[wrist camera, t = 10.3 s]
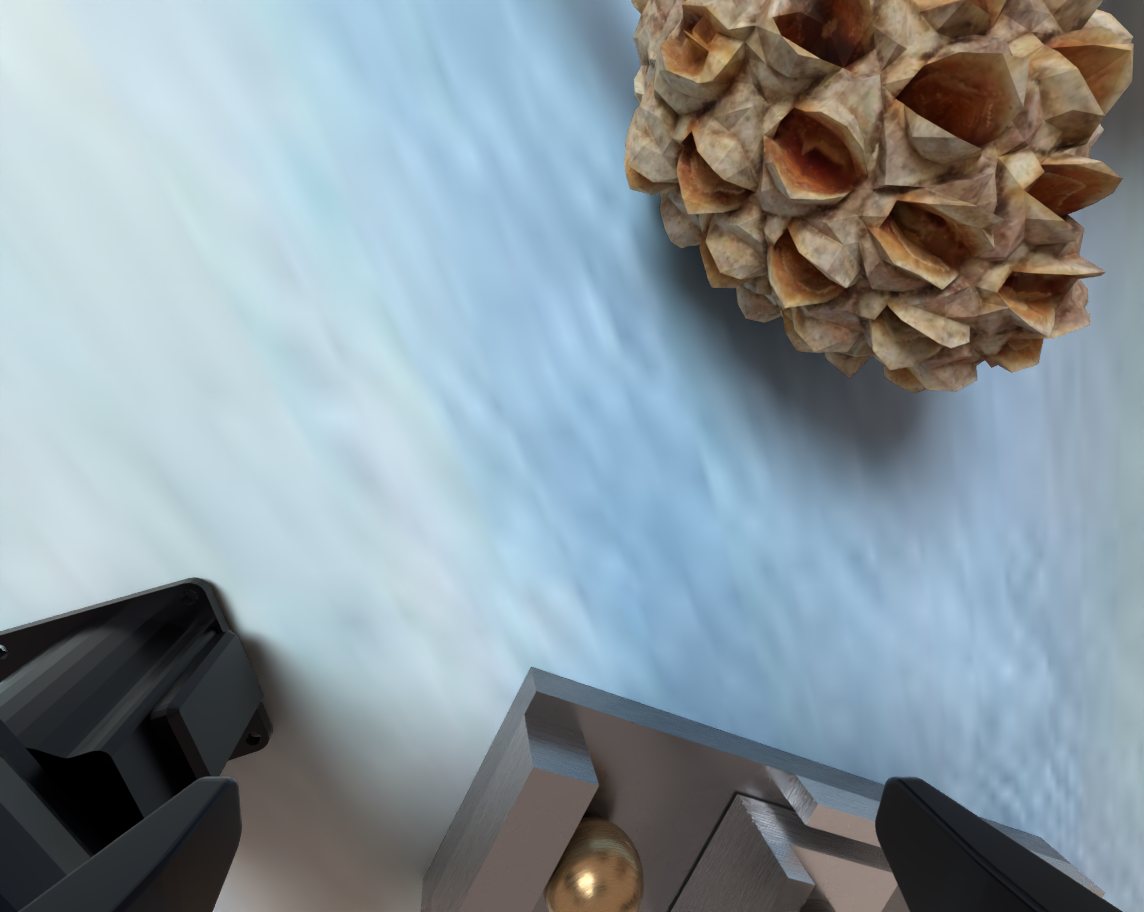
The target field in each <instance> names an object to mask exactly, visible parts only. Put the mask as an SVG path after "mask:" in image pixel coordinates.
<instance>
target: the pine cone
mask: <svg viewBox="0 0 1144 912" xmlns="http://www.w3.org/2000/svg"><path fill="white" fill-rule="evenodd" d="M631 1H632V3H633V5H634V6H635V8H636V9H637V10H638V11H639V12H640V13H641V17H640V20H639V23H638V26H637V29H636V32H635V35H634V38H633V39H634V42H635V45H636V48H637V51H638V54H639V58H640V63H641V67H640V69H639V71H638V73H637V75H636V77H635V79H634V95H635V99H636V100H637V101H638V103H639V104H640V105H639V107H638V108H637V109H636V110H635V112H634V115H633V118H632V120H631V123H630V126H629V129H628V133H627V138H626V144H625V147H626V153H625V158H624V164H625V172H626V176H627V180H628V183H629V187H630V189H632V190H636V191H639V192H643V193H647V194H650V195H653V194H661V204H660V211H661V215H662V219H663V223H664V227H665V231H666V233H667V235H668V237H669V239H670V241H671V242H672V243H674V244H675V245H677V246H678V247H680V248H684V247H688V246H693V245H694V246H697V245H700V247H699V249H700V253H701V256H702V260H703V263H704V267H705V270H706V274H707V278H708V280H709V283H710V285H711V287H712V288H736V291H737V301H738V305H739V307H740V309H741V311H742V312H743V314H744V316H745V318H746V319H750V320H754V321H759V322H763V323H765V322H768V321H771V320H773V319H776V318H779V317H781V316H782V318H783V322H784V329H785V333H786V334H787V336H788V337H789V339H790V341H791V342H792V344H793V346H794V347H795V349H796V351H801V352H814V353H823V352H824V353H825V356H826V359H827V360H828V361H829V362H831V363H832V364H833V365H834V366H835V367H837V368H838V369H839V370H840V371H842V372H843V373H844V374H845V375H846V376H848V377H849V378H851V377H852V376H853V375H854V374H855V373H856V372H857V371H858V369H859V368H860V367H861V366H862V365H863V364H864V363H865V362H866V361H867V360H868V359H869V358H870V357H874V358H875V359H877V360H878V361H879V362H881V363H882V364H883V365H884V377H885V378H886V379H888V380H890V381H891V382H893V383H894V384H896V385H897V386H900V387H902V388H904V389H906V390H909V391H911V392H913V393H917V392H920V391H922V390H925V389H928V390H941V391H957V390H959V389H961V388H963V387H965V386H967V385H969V384H971V383H973V382H974V381H976V380H977V371H976V366H977V365H978V364H980V363H981V362H983V361H984V360H986V362H987V363H988V364H989V365H990V366H991V368H992V367H994V366H997V365H999V366H1000V367H1002V368H1004V369H1006V370H1008V371H1010V372H1011V373H1012V372H1015V371H1018V370H1022V369H1025V368H1028V367H1032V366H1035V365H1037V364H1038V363H1039V358H1040V354H1041V349H1042V344H1043V339H1044V338H1055V337H1058V336H1061V335H1063V334H1066V333H1069V332H1072V331H1074V330H1077V329H1080V328H1082V327H1085V326H1088V325H1090V314H1089V313H1088V312H1087V310H1086V309H1085V306H1086V305H1087V303H1088V288H1087V287H1086V286H1085V285H1084V284H1083V283H1082V282H1081V281H1080V280H1079V279H1082V278H1089V277H1096V276H1101V275H1102V274H1104V273H1105V271H1104V270H1102V269H1101V268H1099V267H1097V266H1096V265H1094V264H1092V263H1091V262H1089V261H1087V260H1086V259H1084V258H1082V257H1081V256H1079V253H1080V248H1081V242H1082V237H1083V232H1084V227H1082V226H1081V225H1080V224H1079V223H1077V222H1076V221H1075V220H1074V219H1072V218H1071V217H1070V216H1069V215H1068V214H1070V213H1072V212H1075V211H1077V210H1080V209H1082V208H1085V207H1087V206H1090V205H1092V204H1094V203H1096V202H1098V201H1100V200H1101V199H1103V198H1105V197H1106V196H1108V195H1110V194H1112V193H1113V192H1114V191H1115V189H1116V188H1117V186H1118V185H1119V183H1120V182H1121V180H1122V179H1123V178H1121V177H1120V176H1119V175H1118V174H1117V173H1115V172H1114V171H1113V170H1112V169H1111V168H1109V167H1108V166H1107V165H1106V164H1105V163H1103V162H1101V161H1097V160H1093V159H1090V152H1091V147H1092V146H1093V145H1094V143H1095V142H1096V140H1097V139H1098V138H1099V136H1100V135H1101V134H1102V132H1103V131H1104V129H1103V127H1102V126H1101V124H1100V123H1101V121H1102V120H1103V118H1104V117H1105V115H1106V114H1107V113H1108V112H1109V110H1110V109H1111V108H1112V107H1113V105H1114V104H1115V103H1116V101H1117V100H1118V99H1119V98H1120V96H1121V95H1122V94H1123V93H1124V91H1125V90H1126V89H1127V88H1128V86H1129V85H1130V84H1131V83H1132V71H1133V50H1134V44H1133V43H1131V41H1132V39H1133V36H1132V35H1131V34H1130V33H1129V32H1128V31H1127V30H1126V29H1125V28H1124V27H1123V26H1122V25H1121V24H1120V23H1119V22H1118V21H1117V20H1116V19H1115V18H1114V17H1113V16H1112V15H1111V14H1109V13H1106V12H1104V11H1101V10H1098V9H1097V8H1098V7H1099V6H1100V4H1101V3H1102V2H1103V0H631Z"/></svg>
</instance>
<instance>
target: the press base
mask: <svg viewBox="0 0 1144 912" xmlns="http://www.w3.org/2000/svg"><path fill="white" fill-rule="evenodd" d="M884 786H885V785H882V784H879V783H876V782H873V781H870V780H867V779H864V778H861V777H858V776H855V775H852V774H849V773H846V772H843V771H840V770H837V769H834V768H831V767H828V766H825V765H822V764H819V763H816V762H813V761H810V760H807V759H804V758H802V757H799V756H796V755H793V754H790V753H787V752H784V751H781V750H778V749H775V748H772V747H769V746H766V745H763V744H760V743H757V742H754V741H751V740H748V739H745V738H742V737H739V736H736V735H733V734H730V733H727V732H724V731H721V730H718V729H715V728H712V727H709V726H706V725H703V724H700V723H697V722H694V721H691V720H688V719H685V718H682V717H679V716H676V715H673V714H670V713H667V712H664V711H661V710H658V709H655V708H652V707H649V706H646V705H643V704H640V703H637V702H634V701H632V700H629V699H626V698H623V697H620V696H617V695H614V694H611V693H608V692H605V691H602V690H599V689H596V688H593V687H590V686H587V685H584V684H581V683H578V682H575V681H572V680H569V679H566V678H563V677H560V676H557V675H554V674H551V673H548V672H545V671H542V670H539V669H536V668H533V667H531V668H530V670H529V672H528V674H527V676H526V678H525V680H524V682H523V684H522V686H521V688H520V690H519V692H518V694H517V696H516V698H515V700H514V702H513V704H512V706H511V708H510V710H509V712H508V714H507V716H506V718H505V719H504V721H503V723H502V725H501V727H500V729H499V731H498V733H497V735H496V737H495V739H494V741H493V743H492V745H491V747H490V749H489V751H488V753H487V755H486V757H485V759H484V761H483V763H482V765H481V767H480V769H479V771H478V773H477V775H476V777H475V779H474V781H473V783H472V785H471V787H470V789H469V791H468V793H467V795H466V797H465V799H464V801H463V803H462V805H461V806H460V808H459V810H458V812H457V814H456V816H455V818H454V820H453V822H452V824H451V826H450V828H449V830H448V832H447V834H446V836H445V838H444V840H443V842H442V844H441V846H440V848H439V850H438V852H437V854H436V856H435V858H434V860H433V862H432V864H431V866H430V868H429V870H428V872H427V874H426V876H425V878H424V880H423V890H422V905H421V912H671V910H672V909H673V907H674V905H675V903H676V902H677V900H678V898H679V896H680V894H681V893H682V891H683V889H684V887H685V886H686V884H687V882H688V880H689V879H690V877H691V875H692V873H693V871H694V870H695V868H696V866H697V864H698V863H699V861H700V859H701V857H702V855H703V854H704V852H705V850H706V848H707V847H708V845H709V843H710V841H711V840H712V838H713V836H714V834H715V832H716V831H717V829H718V827H719V825H720V824H721V822H722V820H723V818H724V817H725V815H726V813H727V811H728V809H729V808H730V806H731V804H732V802H733V801H734V799H735V797H736V795H737V794H739V795H742V796H745V797H749V798H752V799H755V800H759V801H762V802H765V803H769V804H772V805H775V806H779V807H782V808H785V809H789V810H792V811H795V812H796V813H797V814H798V815H799V817H800V818H801V820H802V821H803V822H804V824H805V825H806V826H809V827H813V828H816V829H820V830H823V831H826V832H830V833H833V834H837V835H840V836H843V837H847V838H850V839H854V840H857V841H861V842H864V843H867V844H871V845H874V846H878V847H880V849H881V850H882V848H881V846H880V844H879V841H878V838H877V835H876V829H875V819H876V815H877V811H878V808H879V804H880V800H881V797H882V793H883V789H884ZM981 819H983V818H981ZM983 820H984V821H986V822H987V823H989V824H990V825H992V826H993V827H995V828H996V829H998V830H999V831H1001V832H1002V833H1004V834H1005V835H1007V836H1008V837H1010V838H1011V839H1013V840H1015V841H1016V842H1018V843H1019V844H1021V845H1022V846H1024V847H1025V848H1027V849H1028V850H1030V851H1031V852H1033V853H1034V854H1036V855H1037V856H1039V857H1040V858H1042V859H1043V860H1045V861H1046V862H1048V863H1049V864H1051V865H1052V866H1054V867H1055V868H1057V869H1059V870H1060V871H1062V872H1063V873H1065V874H1066V875H1068V876H1069V877H1071V878H1072V879H1074V880H1075V881H1077V882H1078V883H1080V884H1081V885H1083V886H1084V887H1086V888H1087V889H1089V890H1090V891H1092V892H1093V893H1095V894H1096V895H1098V896H1099V897H1101V898H1102V897H1103V895H1104V894H1105V892H1104V891H1102V890H1101V889H1100V888H1099V887H1098V886H1097V885H1095V884H1094V883H1093V882H1092V881H1091V880H1090V879H1088V878H1087V877H1086V876H1085V875H1084V874H1083V873H1081V872H1080V871H1079V870H1078V869H1077V868H1076V867H1074V866H1073V865H1072V864H1071V863H1070V862H1068V861H1067V860H1066V859H1065V858H1064V857H1063V856H1061V855H1060V854H1059V853H1058V852H1057V851H1056V850H1054V849H1053V848H1052V847H1051V846H1050V845H1049V844H1047V843H1046V842H1045V841H1044V840H1043V839H1042V838H1040V837H1037V836H1034V835H1031V834H1028V833H1025V832H1022V831H1019V830H1016V829H1013V828H1010V827H1007V826H1004V825H1001V824H998V823H995V822H992V821H989V820H986V819H983ZM882 851H883V850H882ZM881 912H910V911H909V909H908V907H907V904H906V902H905V900H904V898H903V895H902V893H901V891H900V889H899V886H898V885H897V887H896V888H895V890H894V892H893V893H892V895H891V897H890V898H889V900H888V902H887V903H886V905H885V906H884V908H883V910H882V911H881Z"/></svg>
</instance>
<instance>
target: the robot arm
mask: <svg viewBox="0 0 1144 912" xmlns="http://www.w3.org/2000/svg"><path fill="white" fill-rule="evenodd" d="M186 590H192V591H194V592H196V594H197V595H198V599H192V598H189V597H188V595H187V594H186ZM0 645H3V646H5V647H6V648H7V649H8V652H9V653H8V652H5V651H3V650H2V649H1V648H0V912H213V909H214V907H215V904H216V902H217V899H218V897H219V894H220V891H221V889H222V886H223V884H224V881H225V879H226V876H227V874H228V871H229V869H230V866H231V864H232V861H233V858H234V856H235V853H236V851H237V848H238V845H239V841H240V837H241V831H242V821H241V810H240V798H239V787H238V782H237V780H236V779H235V778H233V777H219V776H220V774H221V772H222V770H223V768H224V767H225V765H226V763H227V761H228V760H231V759H234V758H237V757H240V756H244V755H247V754H250V753H253V752H256V751H259V750H261V749H262V748H264V747H265V746H266V745H267V744H268V742H269V740H270V738H271V735H272V732H273V728H272V725H271V722H270V720H269V718H268V716H267V713H266V711H265V709H264V706H263V704H262V702H261V700H262V698H263V692H262V690H261V687H260V685H259V683H258V681H257V678H256V676H255V674H254V671H253V669H252V667H251V664H250V662H249V660H248V658H247V655H246V653H245V651H244V648H243V646H242V644H241V642H240V639H239V637H238V635H237V634H235V633H234V632H232V631H230V629H229V627H228V625H227V622H226V620H225V618H224V615H223V613H222V611H221V609H220V606H219V604H218V602H217V600H216V597H215V595H214V593H213V590H212V588H211V586H210V585H209V584H208V582H206V581H205V580H203V579H200V578H188V579H184V580H181V581H177V582H174V583H170V584H167V585H163V586H160V587H156V588H152V589H149V590H145V591H142V592H138V593H135V594H131V595H128V596H124V597H121V598H117V599H113V600H110V601H106V602H103V603H99V604H96V605H92V606H89V607H85V608H82V609H78V610H74V611H71V612H67V613H64V614H60V615H57V616H53V617H50V618H46V619H43V620H39V621H35V622H32V623H28V624H25V625H21V626H18V627H14V628H11V629H7V630H4V631H1V632H0ZM250 732H256V733H259V734H260V736H261V737H254V736H252V735H251V734H250ZM875 829H876V835H877V838H878V841H879V844H880V846H881V848H882V850H883V853H884V855H885V857H886V859H887V862H888V864H889V866H890V868H891V871H892V873H893V875H894V877H895V880H896V882H897V884H898V886H899V889H900V891H901V893H902V895H903V898H904V900H905V902H906V904H907V907H908V909H909V911H910V912H1122V911H1121V910H1119V909H1118V908H1116V907H1115V906H1113V905H1112V904H1110V903H1109V902H1107V901H1106V900H1104V899H1103V898H1101V897H1099V896H1098V895H1096V894H1095V893H1093V892H1092V891H1090V890H1089V889H1087V888H1086V887H1084V886H1083V885H1081V884H1080V883H1078V882H1077V881H1075V880H1074V879H1072V878H1071V877H1069V876H1068V875H1066V874H1065V873H1063V872H1062V871H1060V870H1059V869H1057V868H1055V867H1054V866H1052V865H1051V864H1049V863H1048V862H1046V861H1045V860H1043V859H1042V858H1040V857H1039V856H1037V855H1036V854H1034V853H1033V852H1031V851H1030V850H1028V849H1027V848H1025V847H1024V846H1022V845H1021V844H1019V843H1018V842H1016V841H1015V840H1013V839H1011V838H1010V837H1008V836H1007V835H1005V834H1004V833H1002V832H1001V831H999V830H998V829H996V828H995V827H993V826H992V825H990V824H989V823H987V822H986V821H984V820H983V819H981V818H980V817H978V816H977V815H975V814H974V813H972V812H970V811H969V810H967V809H966V808H964V807H963V806H961V805H960V804H958V803H957V802H955V801H954V800H952V799H951V798H949V797H948V796H946V795H945V794H943V793H942V792H940V791H939V790H937V789H936V788H934V787H933V786H931V785H930V784H928V783H926V782H925V781H923V780H922V779H919V778H916V777H891V778H889V779H888V780H887V781H886V783H885V786H884V789H883V793H882V797H881V800H880V804H879V808H878V811H877V815H876V819H875Z"/></svg>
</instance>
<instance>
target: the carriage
mask: <svg viewBox="0 0 1144 912" xmlns="http://www.w3.org/2000/svg"><path fill="white" fill-rule="evenodd" d="M897 885H898V884H897V882H896V880H895V877H894V875H893V873H892V871H891V868H890V866H889V864H888V862H887V859H886V857H885V855H884V853H883V851H882V850H881V849H880V847H878V846H874V845H871V844H867V843H864V842H861V841H857V840H854V839H850V838H847V837H843V836H840V835H837V834H833V833H830V832H826V831H823V830H820V829H816V828H813V827H809V826H806V825H805V824H804V822H803V821H802V820H801V818H800V817H799V815H798V814H797V813H796V812H795V811H792V810H789V809H785V808H782V807H779V806H775V805H772V804H769V803H765V802H762V801H759V800H755V799H752V798H749V797H745V796H742V795H739V794H737V795H736V797H735V799H734V801H733V802H732V804H731V806H730V808H729V809H728V811H727V813H726V815H725V817H724V818H723V820H722V822H721V824H720V825H719V827H718V829H717V831H716V832H715V834H714V836H713V838H712V840H711V841H710V843H709V845H708V847H707V848H706V850H705V852H704V854H703V855H702V857H701V859H700V861H699V863H698V864H697V866H696V868H695V870H694V871H693V873H692V875H691V877H690V879H689V880H688V882H687V884H686V886H685V887H684V889H683V891H682V893H681V894H680V896H679V898H678V900H677V902H676V903H675V905H674V907H673V909H672V910H671V912H881V911H882V910H883V908H884V906H885V905H886V903H887V902H888V900H889V898H890V897H891V895H892V893H893V892H894V890H895V888H896V887H897Z"/></svg>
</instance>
